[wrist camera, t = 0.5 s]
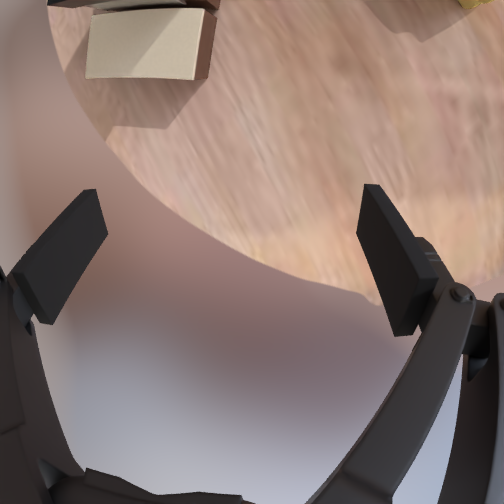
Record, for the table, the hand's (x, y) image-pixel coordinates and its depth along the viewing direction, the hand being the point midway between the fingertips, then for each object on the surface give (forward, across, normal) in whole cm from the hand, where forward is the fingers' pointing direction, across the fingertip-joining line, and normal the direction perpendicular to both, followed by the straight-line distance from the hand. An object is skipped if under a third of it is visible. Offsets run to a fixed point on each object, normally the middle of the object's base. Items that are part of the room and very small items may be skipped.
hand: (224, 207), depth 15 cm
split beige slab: (+29, -10, +14) cm, 34 cm away
